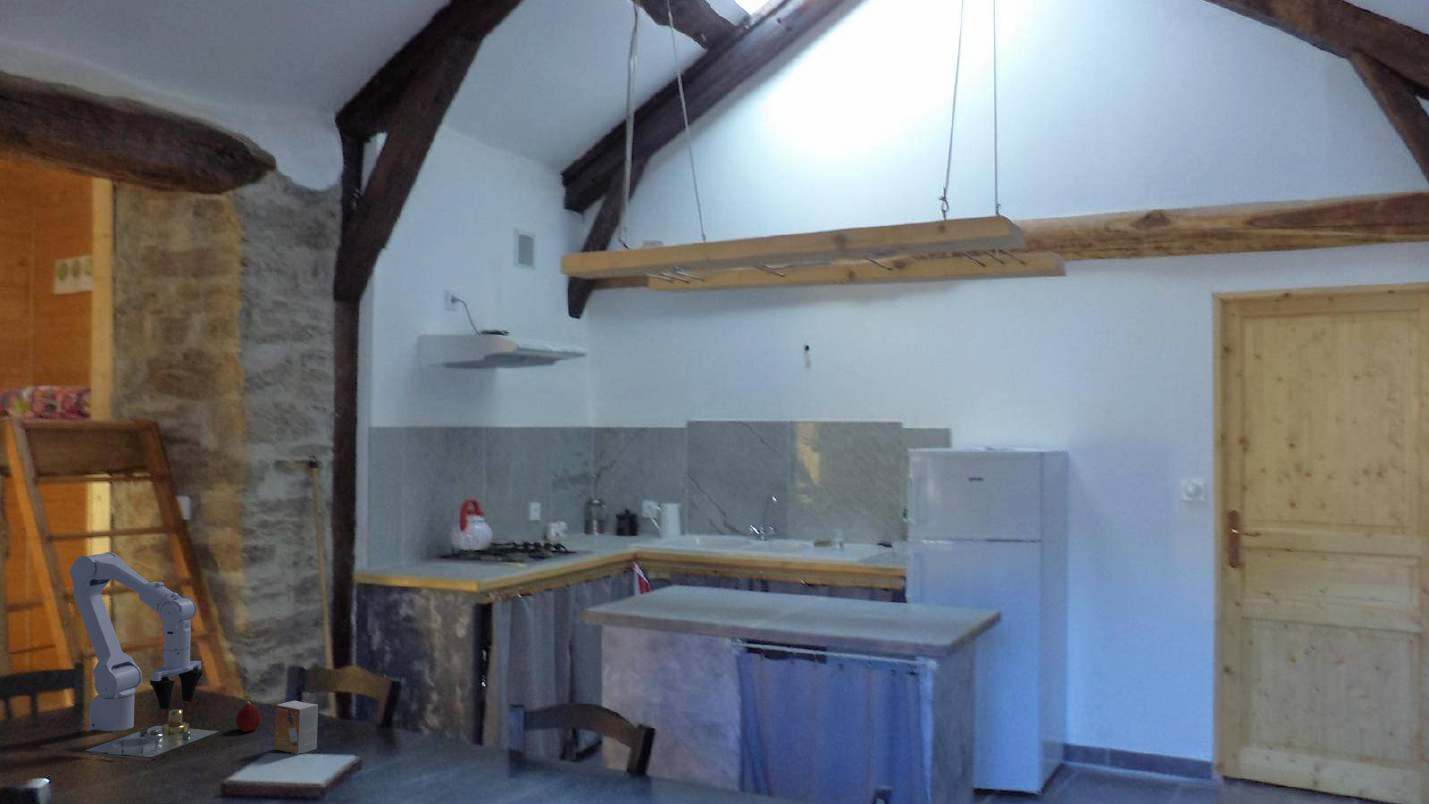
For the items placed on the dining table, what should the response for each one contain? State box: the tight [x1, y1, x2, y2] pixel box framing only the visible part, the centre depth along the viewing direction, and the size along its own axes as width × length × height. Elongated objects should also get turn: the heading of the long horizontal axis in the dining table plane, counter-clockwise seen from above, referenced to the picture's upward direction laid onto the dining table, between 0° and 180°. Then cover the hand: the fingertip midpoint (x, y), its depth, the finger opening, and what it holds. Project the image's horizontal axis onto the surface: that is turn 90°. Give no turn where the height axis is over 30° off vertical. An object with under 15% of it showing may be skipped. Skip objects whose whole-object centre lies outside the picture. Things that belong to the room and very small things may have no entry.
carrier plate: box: [84, 725, 219, 762], centre depth 256 cm, size 18×23×3 cm
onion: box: [235, 700, 262, 733], centre depth 266 cm, size 6×6×8 cm
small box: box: [274, 700, 319, 754], centre depth 254 cm, size 8×6×10 cm
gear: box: [161, 708, 190, 735], centre depth 264 cm, size 6×6×5 cm
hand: (176, 704), depth 264 cm, fingers open, 7 cm apart
